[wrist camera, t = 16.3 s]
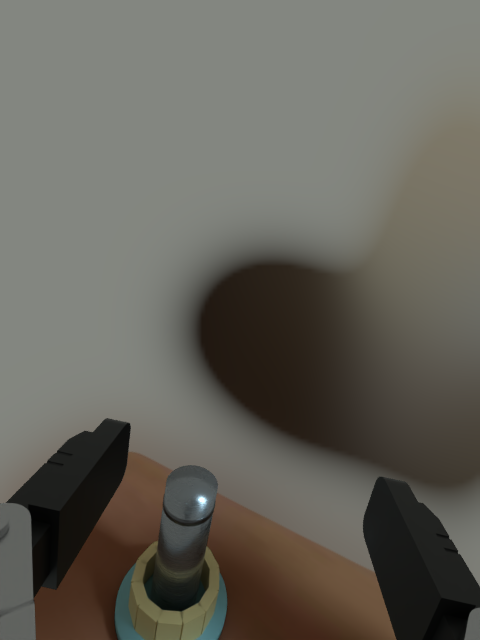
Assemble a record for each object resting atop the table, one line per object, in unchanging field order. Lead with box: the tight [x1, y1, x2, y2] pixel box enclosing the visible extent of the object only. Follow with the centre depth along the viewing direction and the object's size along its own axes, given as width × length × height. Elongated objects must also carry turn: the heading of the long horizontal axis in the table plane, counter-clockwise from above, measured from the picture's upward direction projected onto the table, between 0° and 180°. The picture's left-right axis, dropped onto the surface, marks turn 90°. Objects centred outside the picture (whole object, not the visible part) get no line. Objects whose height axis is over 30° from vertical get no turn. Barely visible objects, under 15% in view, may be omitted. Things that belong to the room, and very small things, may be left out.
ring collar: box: [115, 541, 227, 640], centre depth 33 cm, size 11×11×4 cm
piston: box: [150, 465, 218, 612], centre depth 31 cm, size 5×5×14 cm
